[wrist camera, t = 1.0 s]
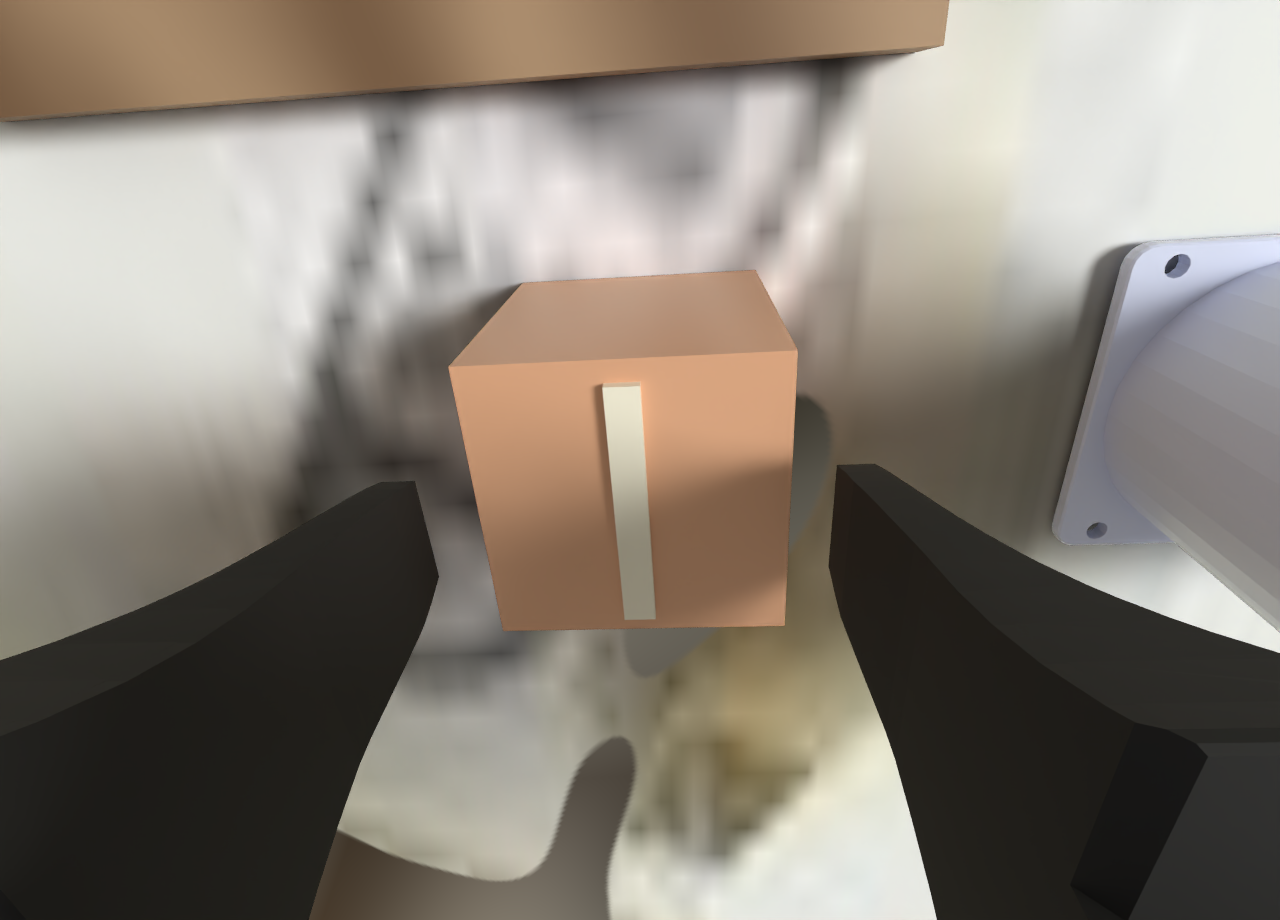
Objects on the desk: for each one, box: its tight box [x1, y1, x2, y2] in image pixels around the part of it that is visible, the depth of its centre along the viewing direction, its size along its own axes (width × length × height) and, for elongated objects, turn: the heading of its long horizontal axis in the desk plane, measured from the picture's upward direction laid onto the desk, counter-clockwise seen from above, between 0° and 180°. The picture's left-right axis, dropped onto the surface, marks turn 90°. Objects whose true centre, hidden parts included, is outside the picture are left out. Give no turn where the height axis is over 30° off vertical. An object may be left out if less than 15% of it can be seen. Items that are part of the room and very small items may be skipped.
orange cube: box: [448, 270, 798, 631], centre depth 14 cm, size 6×6×6 cm
